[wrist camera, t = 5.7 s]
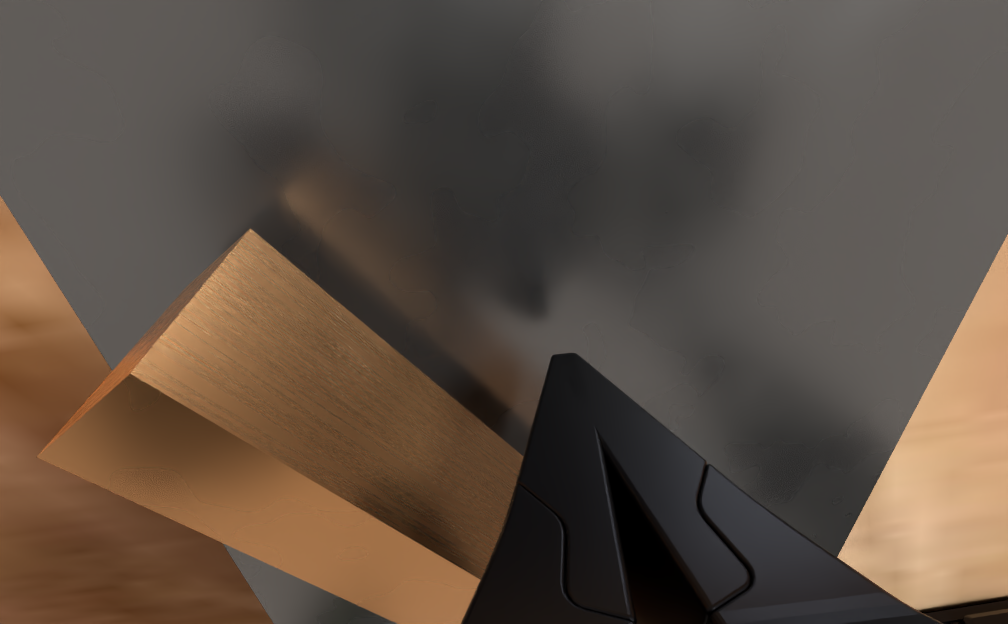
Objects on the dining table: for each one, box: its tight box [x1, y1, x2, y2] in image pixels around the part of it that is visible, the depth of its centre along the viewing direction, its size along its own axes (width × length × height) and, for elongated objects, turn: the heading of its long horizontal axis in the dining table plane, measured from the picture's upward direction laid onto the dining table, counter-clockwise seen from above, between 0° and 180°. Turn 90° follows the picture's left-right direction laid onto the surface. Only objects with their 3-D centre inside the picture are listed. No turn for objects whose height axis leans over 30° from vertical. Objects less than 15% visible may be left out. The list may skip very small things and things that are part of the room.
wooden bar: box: [37, 228, 523, 624], centre depth 11 cm, size 20×7×4 cm, turn 38°
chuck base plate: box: [0, 0, 1008, 624], centre depth 12 cm, size 21×18×1 cm
